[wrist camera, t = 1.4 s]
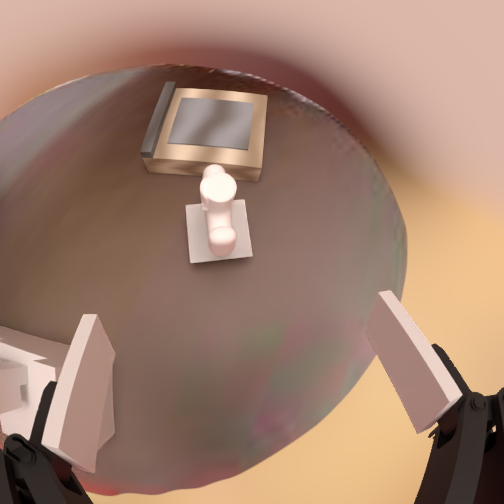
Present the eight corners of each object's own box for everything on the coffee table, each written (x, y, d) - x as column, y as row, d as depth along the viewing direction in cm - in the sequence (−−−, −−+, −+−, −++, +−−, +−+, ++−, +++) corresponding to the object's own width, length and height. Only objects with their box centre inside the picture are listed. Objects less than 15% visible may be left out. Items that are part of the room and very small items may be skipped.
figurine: (241, 203, 38) (253, 136, 24) (250, 271, 36) (270, 236, 22) (188, 208, 37) (172, 143, 23) (194, 277, 35) (176, 246, 21)
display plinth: (148, 172, 38) (140, 151, 33) (170, 104, 42) (166, 81, 36) (257, 182, 39) (263, 161, 34) (263, 111, 43) (268, 89, 38)
